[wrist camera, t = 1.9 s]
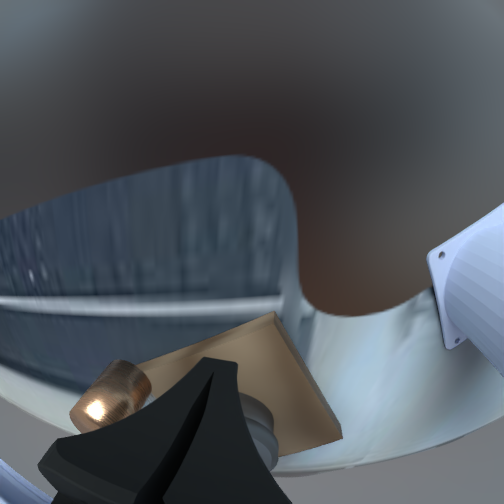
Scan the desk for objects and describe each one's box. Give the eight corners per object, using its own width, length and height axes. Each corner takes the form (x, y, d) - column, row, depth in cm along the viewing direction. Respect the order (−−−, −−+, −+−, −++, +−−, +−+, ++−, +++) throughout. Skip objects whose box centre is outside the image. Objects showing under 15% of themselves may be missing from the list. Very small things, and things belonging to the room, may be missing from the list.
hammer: (243, 469, 13) (234, 521, 9) (210, 473, 14) (198, 521, 10) (134, 349, 11) (90, 407, 7) (103, 360, 12) (60, 410, 8)
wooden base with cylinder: (274, 310, 16) (270, 369, 11) (340, 424, 18) (349, 478, 13) (123, 369, 19) (89, 414, 13) (206, 457, 21) (193, 501, 16)
